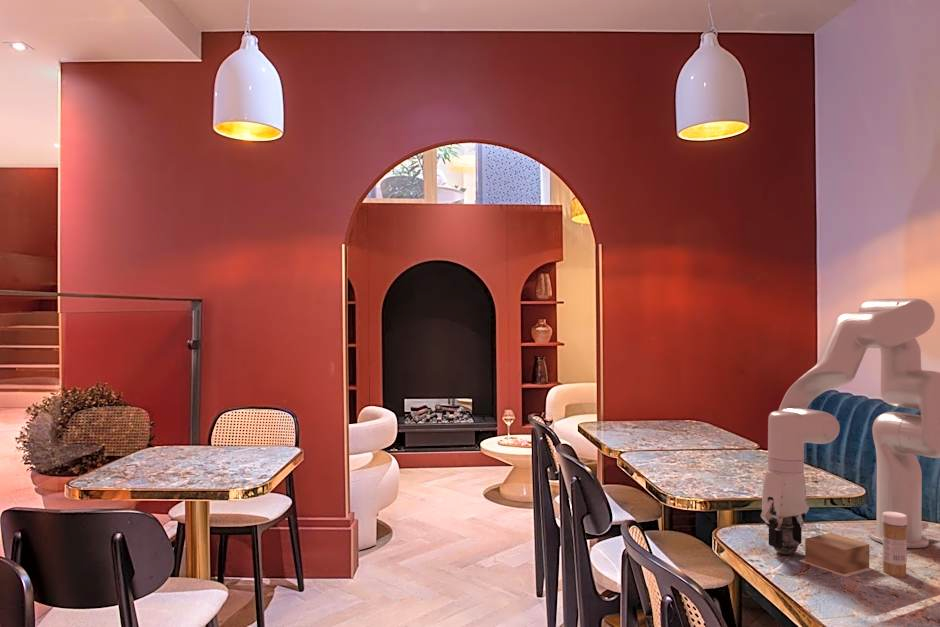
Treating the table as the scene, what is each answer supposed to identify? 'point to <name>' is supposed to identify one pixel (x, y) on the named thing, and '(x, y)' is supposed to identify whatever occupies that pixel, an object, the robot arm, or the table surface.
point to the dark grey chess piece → (787, 538)
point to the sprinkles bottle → (894, 543)
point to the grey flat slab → (837, 572)
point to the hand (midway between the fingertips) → (785, 543)
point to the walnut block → (837, 553)
